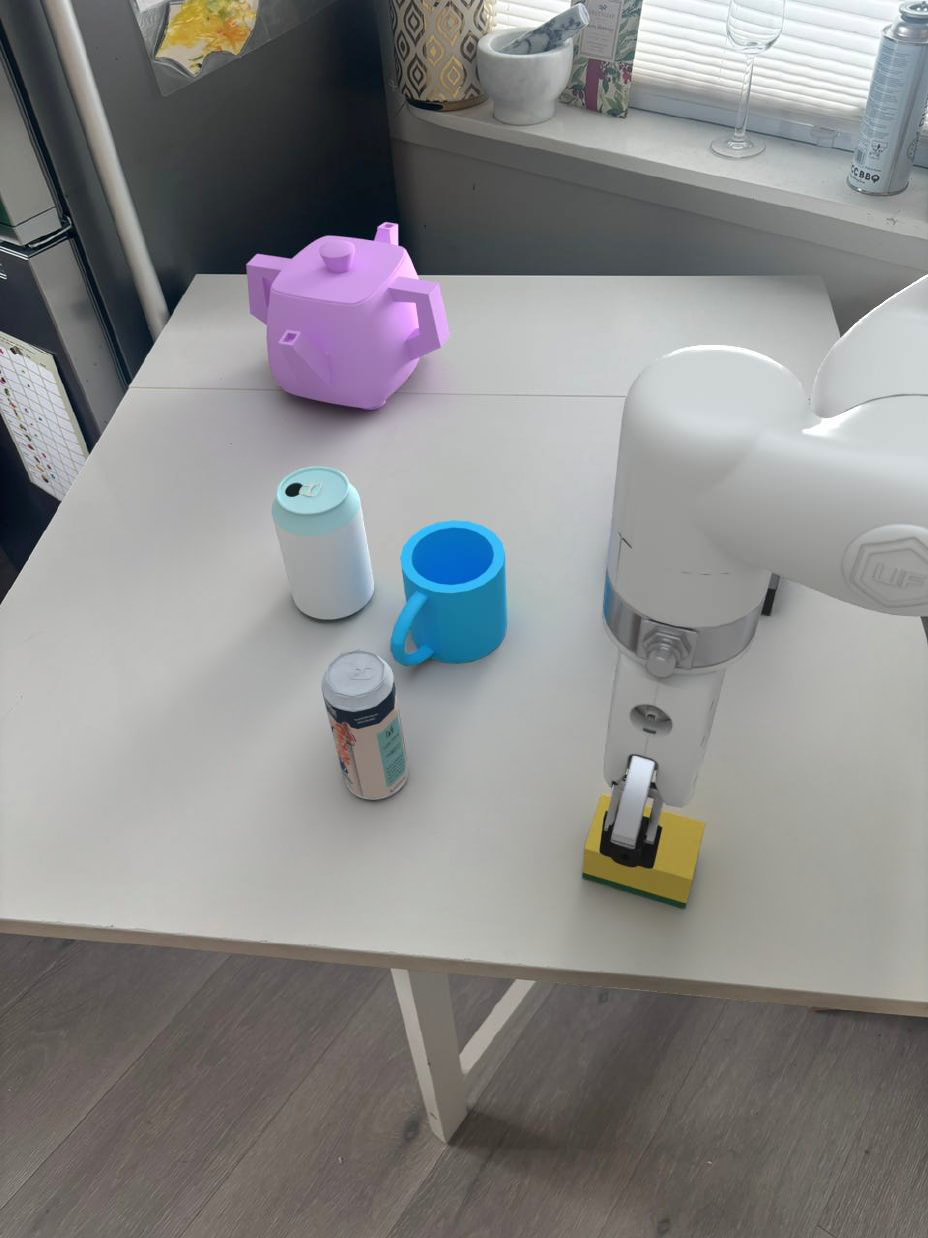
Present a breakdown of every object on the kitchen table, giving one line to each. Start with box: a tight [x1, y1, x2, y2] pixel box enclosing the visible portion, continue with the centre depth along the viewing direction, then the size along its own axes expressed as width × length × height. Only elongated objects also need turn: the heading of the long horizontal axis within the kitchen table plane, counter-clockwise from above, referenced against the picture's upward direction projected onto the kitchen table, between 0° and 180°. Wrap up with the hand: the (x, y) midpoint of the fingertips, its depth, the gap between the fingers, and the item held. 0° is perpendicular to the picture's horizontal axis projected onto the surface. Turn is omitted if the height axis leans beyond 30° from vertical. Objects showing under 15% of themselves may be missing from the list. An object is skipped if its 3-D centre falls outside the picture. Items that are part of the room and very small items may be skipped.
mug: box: [390, 519, 508, 667], centre depth 79 cm, size 12×8×8 cm
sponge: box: [581, 793, 706, 910], centre depth 66 cm, size 7×4×4 cm, turn 70°
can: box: [271, 465, 375, 620], centre depth 82 cm, size 7×7×12 cm
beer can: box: [320, 648, 409, 801], centre depth 69 cm, size 5×5×12 cm
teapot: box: [245, 221, 451, 411], centre depth 103 cm, size 19×18×15 cm
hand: (646, 790), depth 61 cm, fingers open, 9 cm apart
